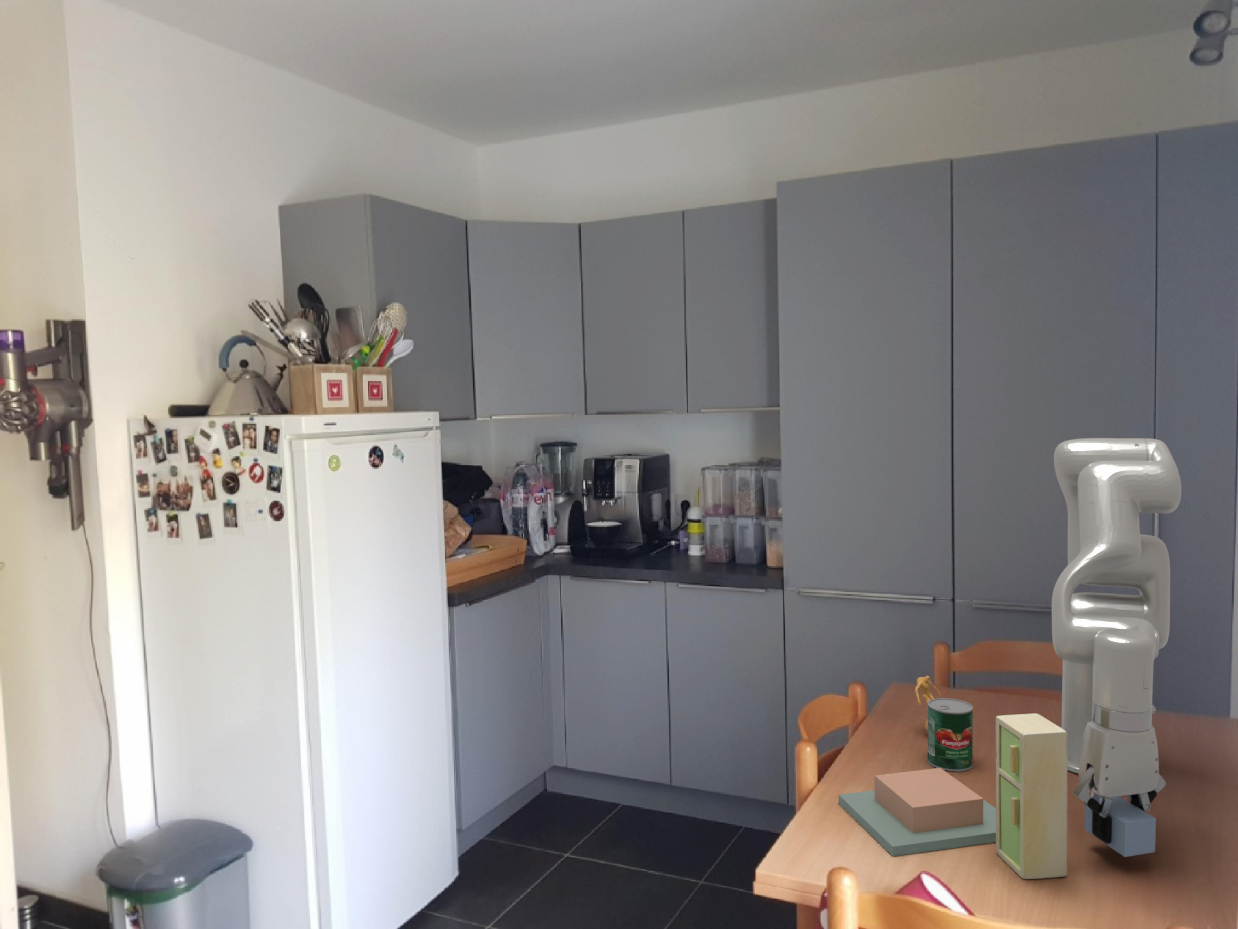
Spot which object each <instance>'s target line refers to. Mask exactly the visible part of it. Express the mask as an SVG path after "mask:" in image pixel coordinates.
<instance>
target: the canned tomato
mask: <svg viewBox="0 0 1238 929" xmlns="http://www.w3.org/2000/svg"><path fill="white" fill-rule="evenodd" d="M927 707H928V713H927V720H928V732H927V763H928V764H929V765H930V766H932V767H933V768H935V767H936V768H941V769H943V770H944V771H945V770H946V771H947V772H953V771H954V772H966V770H967V771H969V770H971V769H972V768H973V765H974V763H973V759H974V758H973V751H974V750H973V748H974V747H973V744H974V741H973V739H974V736H973V734H974V733H973V731H974V728H973V727H974V726H973V724H974V723H973V722H974V721H973V719H974V712H973V710H974V706H973V705H972V704H971V703H969V702H967V701H965V700H962V699H956V698H949V697H947V698H946V697H938V698H934V699H933V700H930V701H929V702H928V704H927ZM946 771H945V772H946Z"/></svg>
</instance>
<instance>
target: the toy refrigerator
mask: <svg viewBox="0 0 1238 929" xmlns="http://www.w3.org/2000/svg"><path fill="white" fill-rule="evenodd" d="M1067 745H1068V735H1067V732H1066V731H1065V730H1064V729H1062V726H1059V725H1057V724H1056V723H1054V722H1052V721H1050V720H1049V719H1047V718H1046V717H1044V716H1043V715H1041V714H1039V713H1036V712H1035V713H1034V712H1033V713H1022V714H1021V713H1020V714H1019V713H1018V714H1005V715H1002V714H1001V715H997V716H995V808H996V842H995V853H996V854H997V855H998V856H999V858H1001V859H1002V860H1003V861H1004V862H1005V863H1006V865H1008V866H1009V867H1010V868H1011V869H1012V870H1013V871H1014V872H1015V873H1016V874H1017V875H1018V876H1019V878H1021V879H1022V880H1035V879H1036V880H1037V879H1047V878H1048V879H1050V878H1061V877H1062V878H1063V877H1067V874H1068V770H1067Z"/></svg>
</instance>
